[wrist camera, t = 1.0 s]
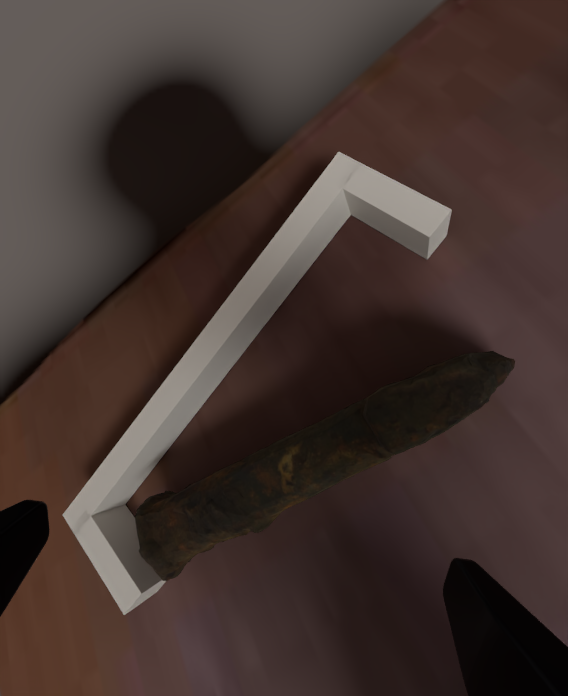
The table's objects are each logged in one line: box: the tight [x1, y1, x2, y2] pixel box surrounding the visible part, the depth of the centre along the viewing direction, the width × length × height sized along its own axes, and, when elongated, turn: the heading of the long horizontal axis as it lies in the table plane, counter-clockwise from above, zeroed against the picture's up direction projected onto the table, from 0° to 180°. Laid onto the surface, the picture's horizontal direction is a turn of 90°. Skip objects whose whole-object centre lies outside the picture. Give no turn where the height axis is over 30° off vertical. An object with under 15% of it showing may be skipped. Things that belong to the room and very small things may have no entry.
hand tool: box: [135, 351, 515, 581], centre depth 16 cm, size 19×4×5 cm, turn 115°
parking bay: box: [63, 152, 452, 615], centre depth 19 cm, size 6×25×2 cm, turn 139°
